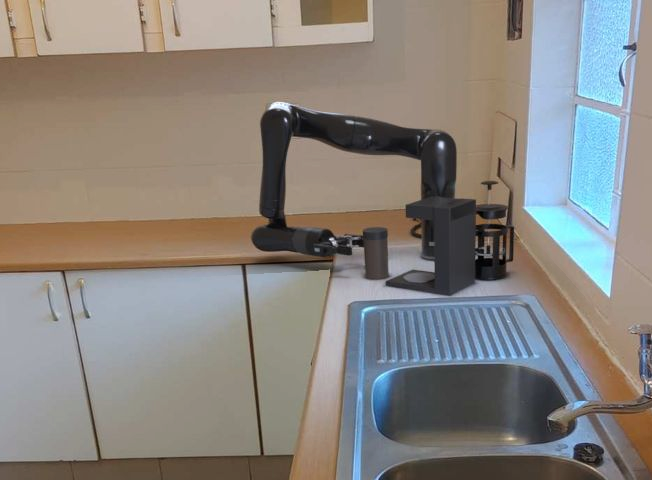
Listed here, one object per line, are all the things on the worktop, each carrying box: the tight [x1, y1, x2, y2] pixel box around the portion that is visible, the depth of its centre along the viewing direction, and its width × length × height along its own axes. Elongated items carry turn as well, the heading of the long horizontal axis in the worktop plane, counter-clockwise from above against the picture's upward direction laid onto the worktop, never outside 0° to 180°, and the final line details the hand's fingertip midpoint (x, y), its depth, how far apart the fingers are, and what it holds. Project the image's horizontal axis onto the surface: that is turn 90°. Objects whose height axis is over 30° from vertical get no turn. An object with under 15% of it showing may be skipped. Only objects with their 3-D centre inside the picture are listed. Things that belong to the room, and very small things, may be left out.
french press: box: [475, 180, 515, 281], centre depth 183 cm, size 12×9×23 cm
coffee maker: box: [385, 197, 477, 297], centre depth 179 cm, size 18×12×20 cm, turn 52°
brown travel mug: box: [362, 226, 390, 280], centre depth 190 cm, size 6×6×12 cm
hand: (361, 247), depth 193 cm, fingers open, 8 cm apart
